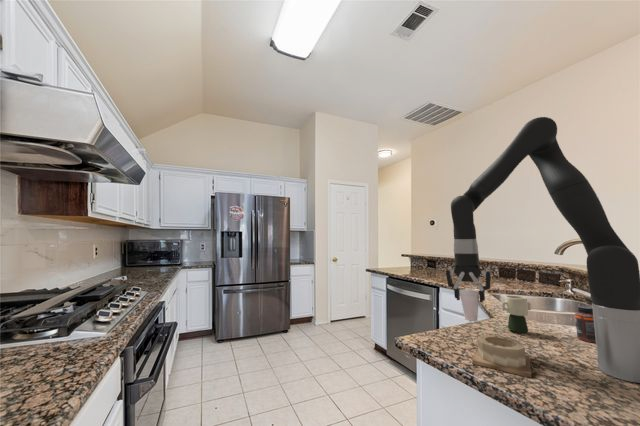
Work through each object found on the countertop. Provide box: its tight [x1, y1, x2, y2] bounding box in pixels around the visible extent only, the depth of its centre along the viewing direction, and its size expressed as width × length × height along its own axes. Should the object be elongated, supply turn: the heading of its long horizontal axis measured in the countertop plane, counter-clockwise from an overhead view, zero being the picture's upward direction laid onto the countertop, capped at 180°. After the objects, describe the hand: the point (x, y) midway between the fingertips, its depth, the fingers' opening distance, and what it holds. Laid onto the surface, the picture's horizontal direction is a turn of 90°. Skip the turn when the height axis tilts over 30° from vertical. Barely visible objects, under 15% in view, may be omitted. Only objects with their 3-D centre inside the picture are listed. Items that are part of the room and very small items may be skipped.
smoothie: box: [459, 281, 480, 322], centre depth 92 cm, size 6×6×14 cm
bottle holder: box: [471, 334, 532, 379], centre depth 76 cm, size 13×13×6 cm
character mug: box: [501, 294, 532, 334], centre depth 102 cm, size 11×7×13 cm, turn 90°
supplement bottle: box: [574, 305, 596, 344], centre depth 94 cm, size 6×6×11 cm
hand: (469, 300), depth 92 cm, fingers closed on smoothie, 6 cm apart
